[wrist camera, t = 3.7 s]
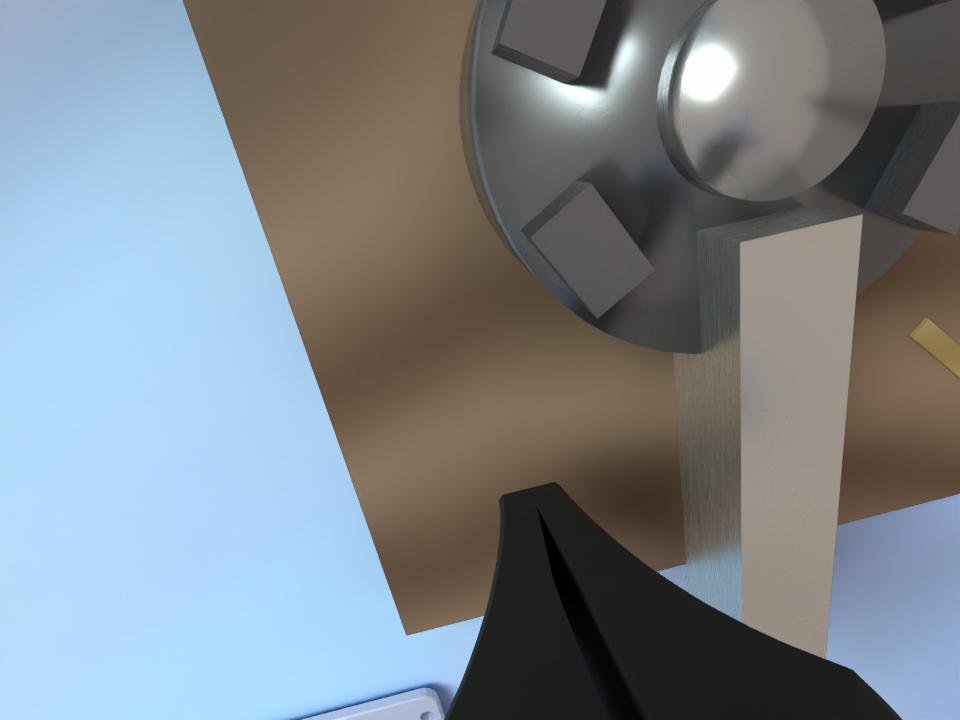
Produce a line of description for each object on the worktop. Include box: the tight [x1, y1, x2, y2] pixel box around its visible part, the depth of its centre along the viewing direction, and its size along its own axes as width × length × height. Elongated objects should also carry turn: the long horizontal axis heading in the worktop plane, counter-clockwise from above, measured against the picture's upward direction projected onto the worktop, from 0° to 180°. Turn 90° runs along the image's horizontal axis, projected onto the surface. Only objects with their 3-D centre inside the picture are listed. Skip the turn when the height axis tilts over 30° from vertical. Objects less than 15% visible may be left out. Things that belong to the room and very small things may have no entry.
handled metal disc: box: [459, 0, 960, 659], centre depth 11 cm, size 18×9×4 cm, turn 11°
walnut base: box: [183, 0, 960, 636], centre depth 14 cm, size 18×18×2 cm
